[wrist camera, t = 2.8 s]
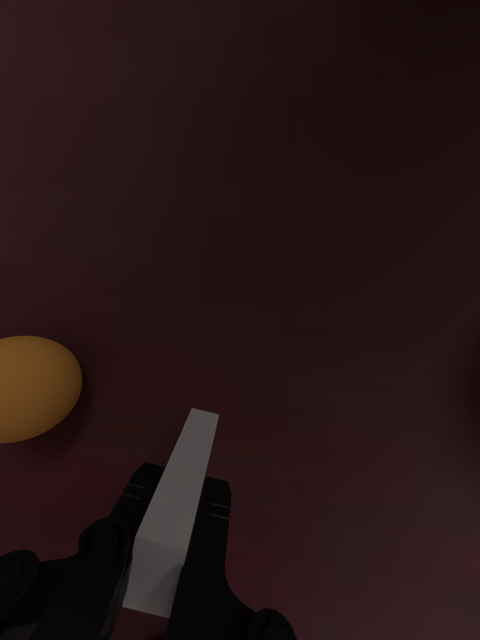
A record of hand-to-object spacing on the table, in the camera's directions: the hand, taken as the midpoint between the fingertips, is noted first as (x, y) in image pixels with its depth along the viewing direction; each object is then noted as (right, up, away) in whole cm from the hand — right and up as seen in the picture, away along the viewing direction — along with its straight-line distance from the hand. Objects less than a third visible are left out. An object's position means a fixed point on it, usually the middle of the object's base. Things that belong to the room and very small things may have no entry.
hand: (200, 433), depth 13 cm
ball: (-10, +2, 0) cm, 10 cm away
